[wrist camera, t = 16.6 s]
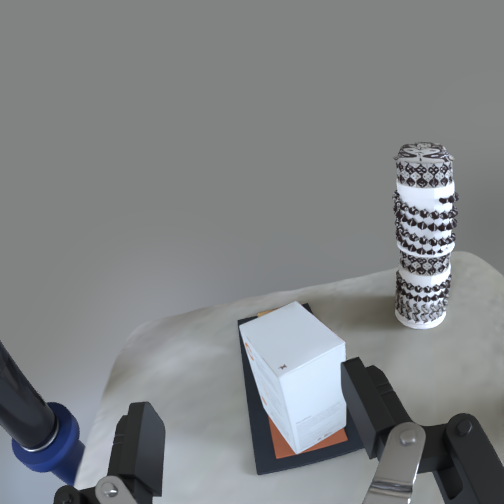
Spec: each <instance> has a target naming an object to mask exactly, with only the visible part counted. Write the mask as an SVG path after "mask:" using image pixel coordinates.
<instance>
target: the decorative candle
mask: <svg viewBox="0 0 504 504" xmlns="http://www.w3.org/2000/svg"><path fill="white" fill-rule="evenodd" d="M394 159H395V160H396V164H397V174H398V175H397V176H398V178H397V190H396V191H394V195H393V200H394V201H395V206H394V208H393V209H394V211H395V215H396V216H397V217H396V221H395V225H396V226H397V230H396V232H395V233H396V235H397V237H396V239H397V246H398V247H399V248H400V259H399V270H398V271H397V272H396V275H397V277H396V278H397V281H396V284H397V286H396V288H397V290H396V299H395V303H396V304H395V307H396V310H395V315H396V317H397V319H398V320H399V321H400V322H401V323H403V324H404V325H405V326H408V327H411V328H414V329H428V328H432V327H435V326H437V325H438V324H440V323H441V322H442V321H443V319H444V317H445V315H446V313H445V311H446V308H445V306H447V302H448V300H446V298H448V297H449V295H448V294H447V293H448V292H449V288H450V284H449V283H450V279H451V274H450V267H451V264H450V254H451V253H450V252H451V251H452V249H453V247H454V241H455V234H454V233H453V232H452V231H451V229H453V228H455V227H456V226H457V220H455V219H454V218H453V217H455V216H456V215H457V214H458V211H457V208H455V207H454V206H452V203H453V202H455V201H457V200H458V199H459V195H458V194H457V193H456V192H455V191H454V181H453V178H452V175H453V172H452V170H453V168H452V161H453V160H454V157H453V156H451V155H449V153H448V152H447V150H446V148H445V147H444V146H443V145H441V144H437V143H426V142H421V143H409V144H406V145H403V146H402V147H401V149H400V151H399V153H398V155H396V156H394ZM399 195H400V198H399V199H397V197H399ZM398 207H400V209H399V210H398ZM400 210H401V212H400ZM399 222H401V224H399ZM400 232H401V235H400Z"/></svg>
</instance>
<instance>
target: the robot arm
mask: <svg viewBox="0 0 504 504" xmlns="http://www.w3.org/2000/svg"><path fill="white" fill-rule="evenodd" d="M340 370H341V390H342V394H343V397H344V400H345V402H346V404H347V407H348V409H349V411H350V414H351V416H352V418H353V421H354V423H355V425H356V428H357V430H358V432H359V435H360V437H361V440H362V442H363V444H364V447H365V449H366V452H367V454H368V456H369V459H373V458H375V457H377V458H378V461H379V465H378V468H377V470H376V473H375V475H374V478H373V480H372V482H371V484H370V487H369V489H368V491H367V494H366V496H365V498H364V500H363V503H362V504H409V501H410V498H411V495H412V487H413V483H414V480H415V477H416V474H419V473H426V472H432V473H433V475H434V477H435V480H436V482H437V485H438V487H439V490H440V492H441V495H442V497H443V500H444V502H445V504H504V467H503V465H502V463H501V461H500V459H499V457H498V456H497V454H496V452H495V450H494V448H493V446H492V445H491V443H490V441H489V439H488V437H487V436H486V434H485V432H484V430H483V429H482V427H481V425H480V424H479V422H478V420H477V419H476V418H475V417H474V416H472V415H470V414H467V413H461V414H457V415H455V416H454V417H452V418H451V419H450V420H449V422H448V423H447V424H441V425H435V426H421V425H418V424H416V423H415V422H413V421H412V420H411V419H410V417H409V416H408V414H407V412H406V410H405V409H404V407H403V405H402V403H401V402H400V400H399V398H398V396H397V395H396V393H395V391H393V388H392V386H391V384H390V383H389V381H388V379H387V378H386V376H385V374H384V373H383V371H381V370H380V369H378V368H377V367H376V366H374V365H372V366H369V367H366V368H365V367H364V365H363V363H362V361H361V359H360V358H359V357H356V358H353V359H350V360H347V361H344V362H341V364H340ZM0 425H1V426H2V427H3V428H4V429H5V430H6V432H7V433H8V434H9V435H10V436H11V437H12V438H13V439H14V440H15V441H16V442H18V443H19V444H20V446H21V447H22V448H23V449H25V450H26V451H27V452H30V453H39V452H42V451H44V450H46V449H47V448H49V447H50V446H51V445H52V444H53V443H54V442H55V440H56V439H57V437H58V435H59V432H60V419H59V417H58V416H57V415H56V414H55V412H54V411H52V410H51V409H50V407H49V406H48V405H47V403H46V402H45V401H44V399H43V398H41V395H40V394H38V393H37V391H36V390H35V389H34V388H33V386H32V385H31V384H30V382H29V381H28V380H27V378H26V377H25V376H24V375H23V373H22V372H21V370H20V369H19V367H18V366H17V365H16V364H15V362H14V360H13V359H12V357H11V356H10V354H9V353H8V352H7V350H6V348H5V347H4V345H3V344H2V342H1V341H0ZM113 444H114V445H113V446H112V451H111V457H110V462H109V468H108V473H107V476H106V477H103V478H102V479H100V480H99V482H98V483H97V485H96V486H95V487H91V488H87V489H83V490H77V489H76V488H74V487H73V486H70V485H65V486H62V487H61V488H59V489H58V490H57V492H56V493H55V497H54V503H53V504H153V503H152V500H153V496H154V497H162V478H163V461H164V447H165V426H164V423H163V421H162V420H161V418H160V417H159V415H158V414H157V413H156V411H155V410H154V408H153V407H152V406H151V404H150V403H149V402H137V403H131V404H130V406H129V410H128V415H123V416H122V418H121V419H120V421H119V422H118V424H117V426H116V431H115V437H114V441H113Z"/></svg>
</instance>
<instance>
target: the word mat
mask: <svg viewBox="0 0 504 504" xmlns="http://www.w3.org/2000/svg"><path fill="white" fill-rule="evenodd" d="M302 306H303V307H304V308H305V309H306V310H308V311H309V312H310V313H311V314H312V315H313V313H312V311H311V309H310V307H309V305H308V303H306V304H303V305H302ZM256 318H258V316H254V317H250V318H245V319H241V320H238V328H239V326H240V325H242V324H244V323H247V322H249V321H251V320H254V319H256ZM239 337H240V345H241V354H242V362H243V370H244V378H245V386H246V394H247V402H248V410H249V418H250V425H251V433H252V440H253V447H254V455H255V462H256V469H257V474H258V475H262V474H268V473H273V472H278V471H283V470H287V469H292V468H296V467H300V466H305V465H309V464H312V463H316V462H320V461H324V460H327V459H331V458H334V457H337V456H341V455H344V454H347V453H350V452H353V451H356V450H359V449H362V448H365V447H364V444H363V442H362V440H361V437H360V435H359V432H358V430H357V428H356V425H355V423H354V421H353V418H352V416H351V414H350V411H349V409H348V407H347V404H346V426H345V427H343V428H342V429H340V430H338V431H337V432H335V433H334V434H332V435H330V436H329V437H327V438H325V439H324V440H322V441H320V442H319V443H317V444H315V445H313V446H312V447H310V448H308V449H306V450H304V451H302V452H301V453H299V454H296V453H295V452H294V451H293V449H292V448H291V447H290V445H289V444H288V443H287V441H286V440H285V438H284V437H283V436H282V434H281V433H280V431H279V430H278V428H277V427H276V426H275V424H274V423H273V421H272V420H271V418H270V417H269V415H268V414H267V412H266V410H265V409H264V407H263V404H262V400H261V397H260V394H259V391H258V387H257V384H256V381H255V378H254V375H253V372H252V368H251V365H250V362H249V358H248V355H247V352H246V349H245V345H244V342H243V339H242V335H241V332H240V328H239Z"/></svg>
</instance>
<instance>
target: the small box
mask: <svg viewBox="0 0 504 504" xmlns="http://www.w3.org/2000/svg"><path fill="white" fill-rule="evenodd" d="M239 328H240V332H241V335H242V339H243V342H244V345H245V349H246V352H247V355H248V358H249V362H250V365H251V368H252V372H253V375H254V378H255V381H256V384H257V387H258V391H259V394H260V397H261V400H262V404H263V407H264V409H265V410H266V412H267V414H268V415H269V417H270V418H271V420H272V421H273V423H274V424H275V426H276V427H277V428H278V430H279V431H280V433H281V434H282V436H283V437H284V438H285V440H286V441H287V443H288V444H289V445H290V447H291V448H292V449H293V451H294V452H295V453H296V454H299V453H301V452H302V451H304V450H306V449H308V448H310V447H312V446H313V445H315V444H317V443H319V442H320V441H322V440H324V439H325V438H327V437H329V436H330V435H332V434H334V433H335V432H337V431H338V430H340V429H342V428H343V427H345V426H346V402H345V400H344V397H343V394H342V390H341V370H340V364H341V362H344V361H346V351H345V341H344V340H343V339H341V338H340V337H339V336H338V335H337V334H335V333H334V332H333V331H332V330H330V329H329V328H328V327H327V326H326V325H324V324H323V323H322V322H321V321H320V320H318V319H317V318H316V317H315V316H314V315H312V314H311V313H310V312H309V311H308V310H306V309H305V308H304V307H303V306H302V305H300V304H299V303H298V302H297V301H294V302H292V303H290V304H288V305H285V306H283V307H281V308H279V309H277V310H274V311H272V312H270V313H267V314H265V315H263V316H261V317H258V318H256V319H254V320H251V321H249V322H247V323H244V324H242V325H240V326H239Z"/></svg>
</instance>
